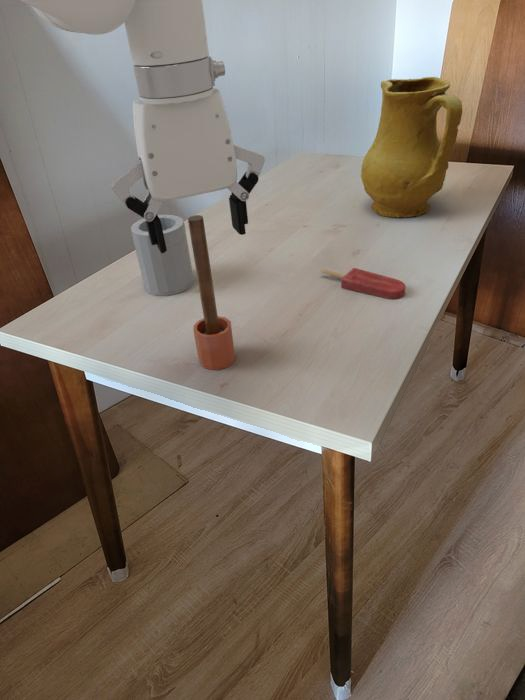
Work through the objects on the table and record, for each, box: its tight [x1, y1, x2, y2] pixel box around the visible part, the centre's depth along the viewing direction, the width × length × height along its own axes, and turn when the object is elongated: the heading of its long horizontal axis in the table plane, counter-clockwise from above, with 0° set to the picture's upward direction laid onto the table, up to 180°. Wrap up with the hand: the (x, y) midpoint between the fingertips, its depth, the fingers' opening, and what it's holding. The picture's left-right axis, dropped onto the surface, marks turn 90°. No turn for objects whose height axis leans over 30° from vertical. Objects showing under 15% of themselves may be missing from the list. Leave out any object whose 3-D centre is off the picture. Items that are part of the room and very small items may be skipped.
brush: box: [187, 214, 223, 335], centre depth 66 cm, size 3×3×20 cm
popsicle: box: [320, 267, 406, 300], centre depth 86 cm, size 4×2×15 cm
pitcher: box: [360, 76, 463, 219], centre depth 105 cm, size 17×19×25 cm
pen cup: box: [192, 315, 236, 371], centre depth 71 cm, size 5×5×6 cm
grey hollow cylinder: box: [130, 214, 194, 297], centre depth 89 cm, size 9×9×11 cm
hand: (201, 239), depth 62 cm, fingers open, 9 cm apart
